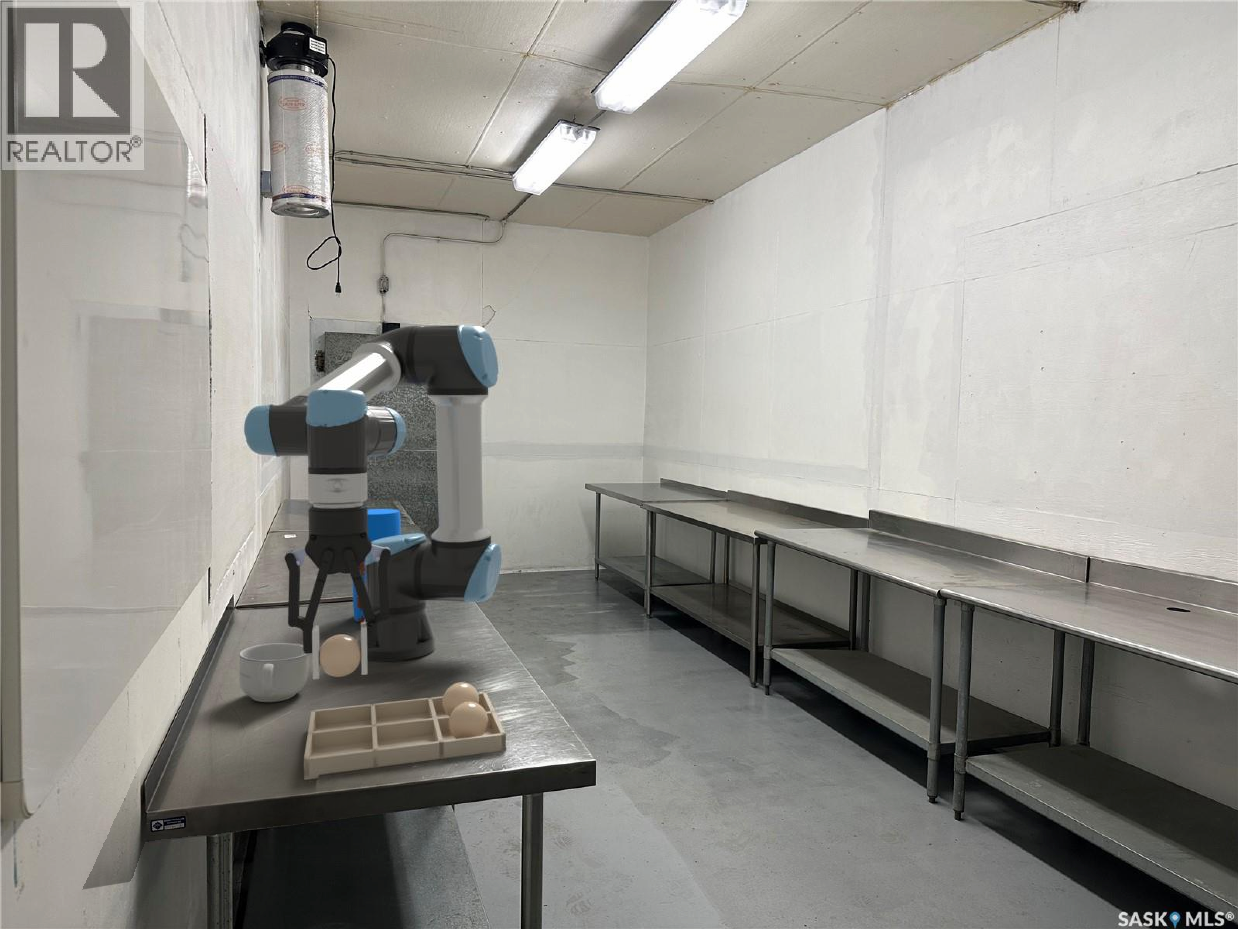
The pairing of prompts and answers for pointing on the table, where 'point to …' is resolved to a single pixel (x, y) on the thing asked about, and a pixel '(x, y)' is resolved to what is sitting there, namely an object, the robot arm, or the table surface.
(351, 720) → the carton
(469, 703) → the egg front left
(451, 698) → the egg back left
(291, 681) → the teacup
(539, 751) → the table surface
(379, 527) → the thermos
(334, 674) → the egg
